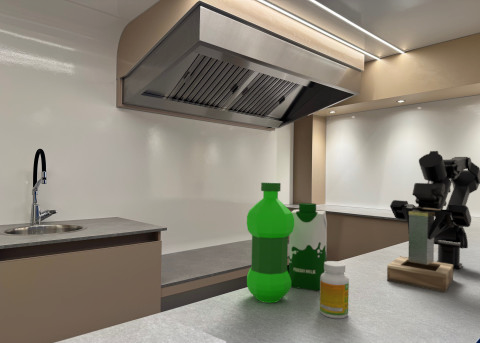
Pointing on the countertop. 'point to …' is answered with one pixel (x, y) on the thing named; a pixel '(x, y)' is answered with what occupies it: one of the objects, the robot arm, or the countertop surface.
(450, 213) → the robot arm
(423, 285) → the caddy
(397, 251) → the countertop surface
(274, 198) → the plastic bottle
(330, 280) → the supplement bottle
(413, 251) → the tea canister
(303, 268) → the milk carton
